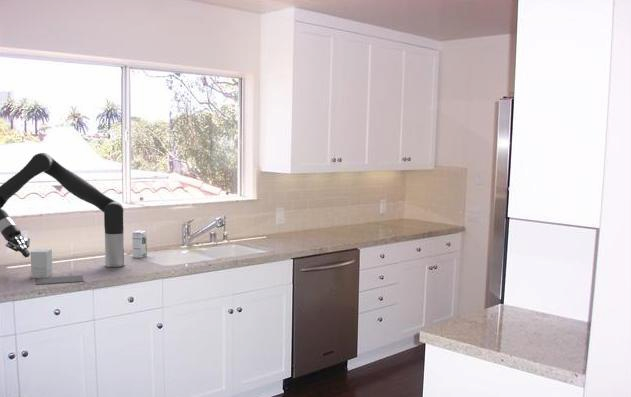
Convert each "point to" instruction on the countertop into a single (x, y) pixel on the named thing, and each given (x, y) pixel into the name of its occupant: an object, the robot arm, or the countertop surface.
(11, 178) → the robot arm
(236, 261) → the countertop surface
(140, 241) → the syrup box
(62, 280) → the rubber mat
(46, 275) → the supplement box
